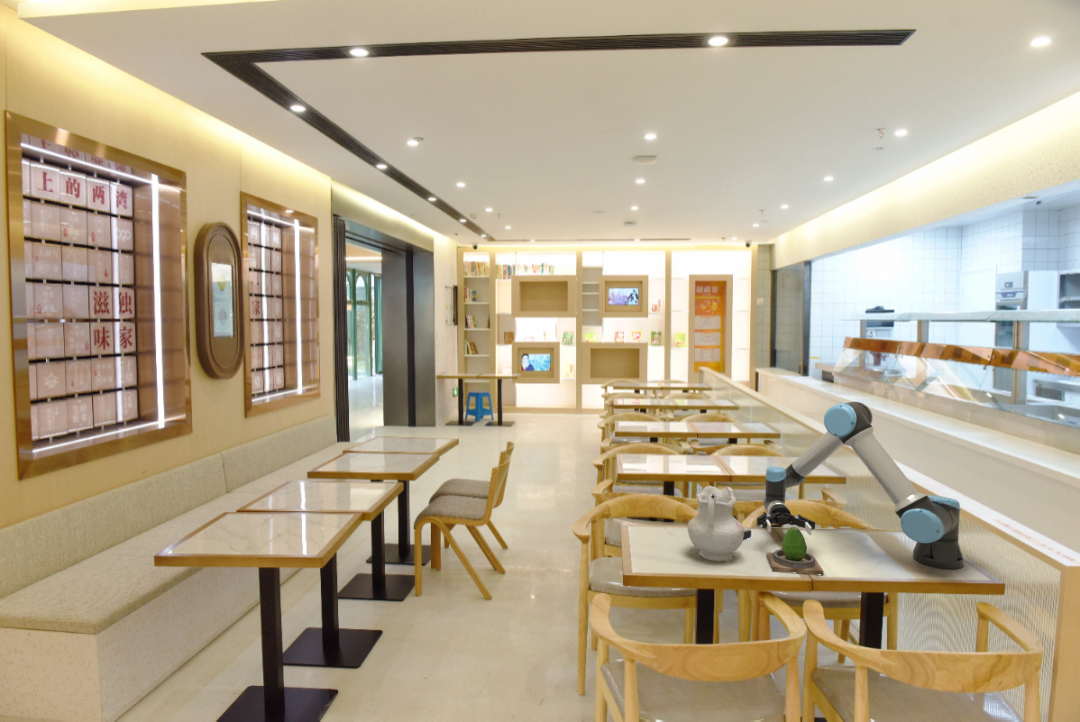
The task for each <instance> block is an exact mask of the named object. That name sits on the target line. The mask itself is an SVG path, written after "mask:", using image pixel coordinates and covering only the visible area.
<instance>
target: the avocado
mask: <svg viewBox="0 0 1080 722" xmlns="http://www.w3.org/2000/svg"><path fill="white" fill-rule="evenodd" d="M807 545H808V544H807V542H806V539H805V537H804V535H803V533H802V531H801V530H800V529H799V528H798V527H796V526H791V527H789V528H788V529H787V530H786V533H785V534H784V537H783V540H782V542H781V549H783V553H784V556H785V557H786V558H787V559H788V560H790V561H800V560H802V559H803V558H804V557H805V554H806V552H807V553H808V546H807Z"/></svg>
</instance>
